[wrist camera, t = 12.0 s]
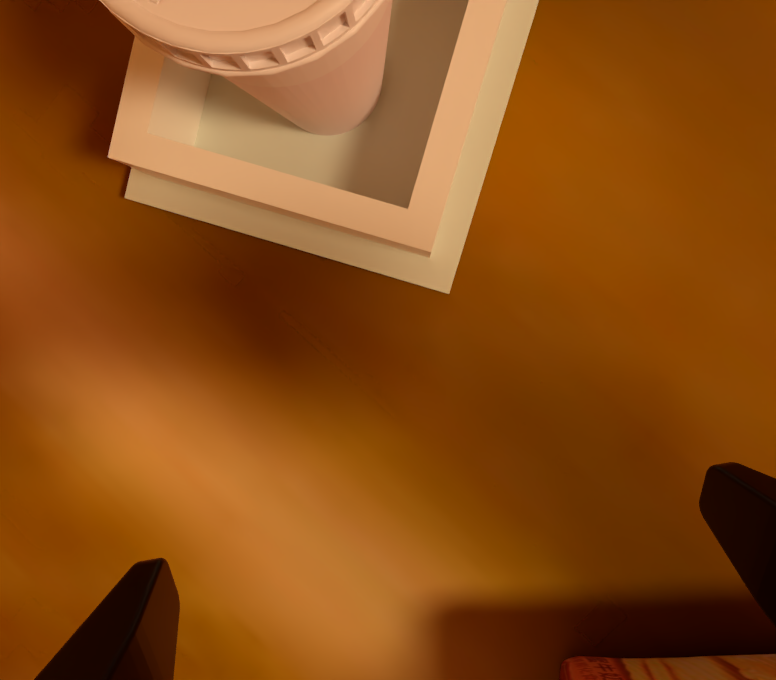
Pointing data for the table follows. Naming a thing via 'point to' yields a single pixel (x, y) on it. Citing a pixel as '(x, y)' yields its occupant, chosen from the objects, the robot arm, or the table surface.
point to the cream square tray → (337, 145)
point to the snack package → (671, 668)
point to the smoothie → (276, 51)
